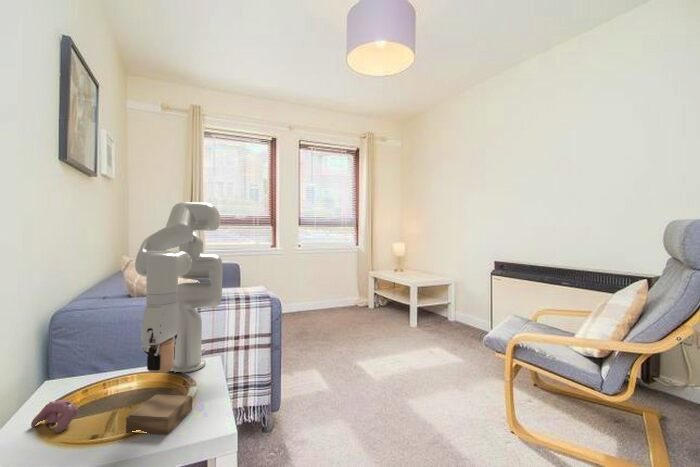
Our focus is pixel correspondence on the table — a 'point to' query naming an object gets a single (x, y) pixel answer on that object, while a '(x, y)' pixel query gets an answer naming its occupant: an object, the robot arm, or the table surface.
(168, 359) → the canister
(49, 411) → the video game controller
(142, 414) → the walnut block
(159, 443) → the table surface
